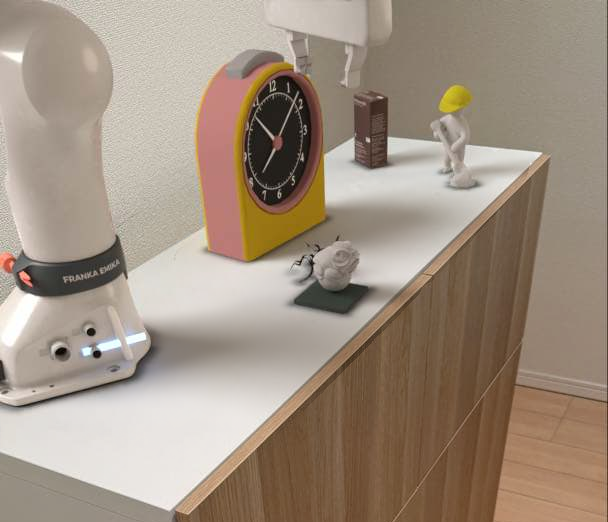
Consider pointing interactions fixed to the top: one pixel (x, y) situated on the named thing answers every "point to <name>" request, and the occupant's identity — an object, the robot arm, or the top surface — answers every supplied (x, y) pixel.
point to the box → (371, 128)
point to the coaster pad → (331, 297)
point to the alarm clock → (259, 155)
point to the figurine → (454, 134)
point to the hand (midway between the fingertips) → (326, 80)
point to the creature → (310, 259)
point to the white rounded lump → (336, 265)
